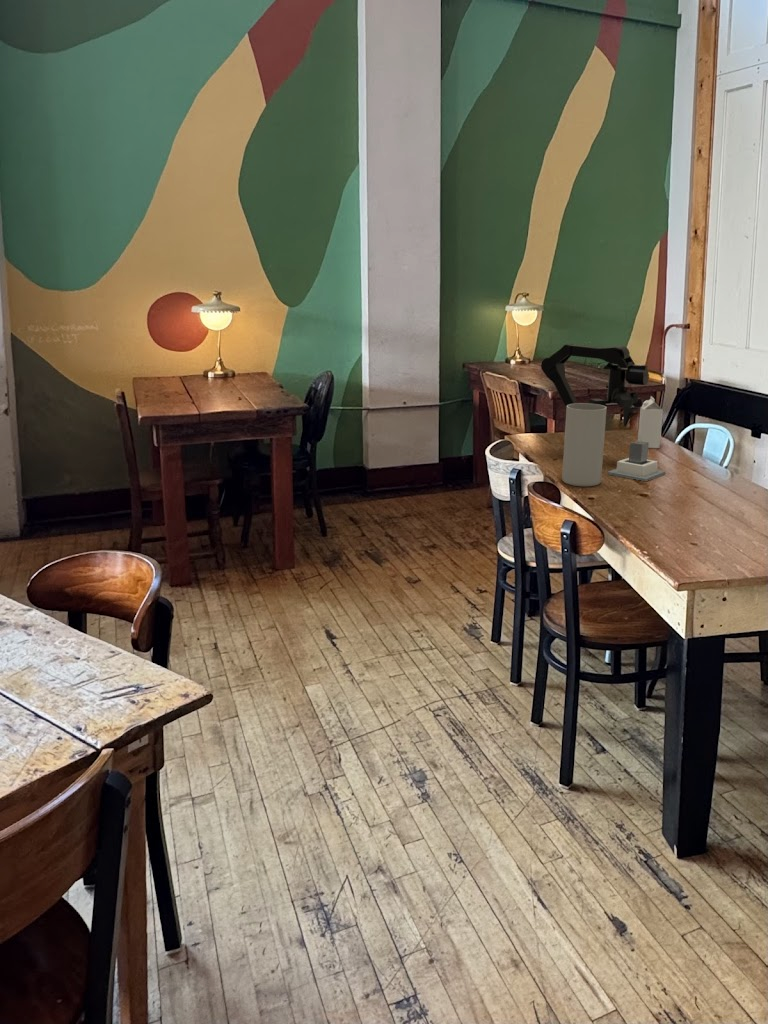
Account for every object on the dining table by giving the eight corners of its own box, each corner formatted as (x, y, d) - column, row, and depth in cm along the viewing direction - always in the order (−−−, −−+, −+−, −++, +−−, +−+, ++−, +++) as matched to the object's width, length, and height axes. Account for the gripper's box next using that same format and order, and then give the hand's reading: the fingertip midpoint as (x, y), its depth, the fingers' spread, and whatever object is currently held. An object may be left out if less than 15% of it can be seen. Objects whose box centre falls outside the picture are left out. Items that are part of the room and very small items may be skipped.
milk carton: (655, 444, 344) (660, 396, 339) (659, 448, 337) (664, 399, 332) (637, 444, 345) (641, 395, 339) (640, 448, 338) (644, 399, 333)
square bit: (639, 473, 296) (642, 444, 293) (627, 471, 299) (630, 442, 296) (646, 471, 299) (648, 442, 296) (634, 469, 302) (636, 440, 299)
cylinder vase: (572, 488, 282) (578, 411, 275) (555, 478, 294) (559, 404, 287) (607, 485, 286) (613, 409, 278) (589, 476, 297) (594, 402, 290)
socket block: (645, 481, 290) (646, 468, 289) (607, 474, 299) (608, 461, 298) (665, 474, 300) (666, 461, 299) (628, 467, 309) (629, 454, 308)
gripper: (604, 387, 297) (601, 433, 302) (653, 385, 302) (649, 430, 307) (588, 382, 307) (585, 427, 312) (635, 380, 312) (632, 424, 317)
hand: (613, 427), depth 311 cm, fingers open, 9 cm apart
